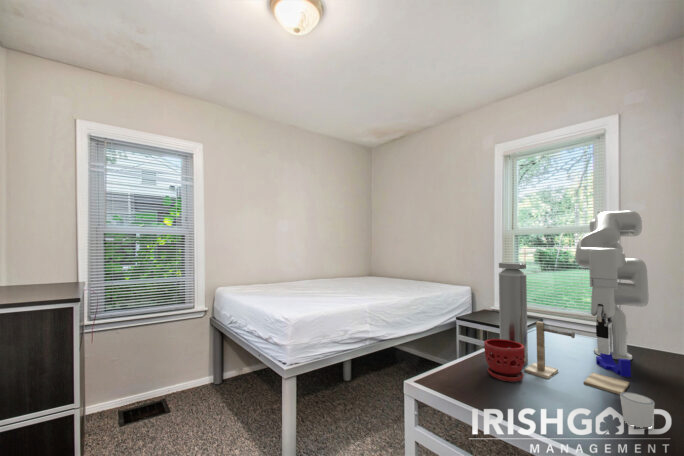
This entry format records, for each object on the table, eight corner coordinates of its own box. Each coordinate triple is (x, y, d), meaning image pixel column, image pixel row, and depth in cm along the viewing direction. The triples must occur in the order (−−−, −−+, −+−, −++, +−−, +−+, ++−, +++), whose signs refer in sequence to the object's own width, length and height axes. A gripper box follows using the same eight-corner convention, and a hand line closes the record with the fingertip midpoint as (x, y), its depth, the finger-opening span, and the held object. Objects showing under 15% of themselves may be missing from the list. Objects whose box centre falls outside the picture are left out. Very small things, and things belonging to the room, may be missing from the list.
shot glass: (613, 417, 87) (613, 392, 88) (636, 416, 88) (635, 391, 88) (639, 432, 81) (638, 404, 81) (663, 431, 81) (662, 403, 82)
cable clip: (596, 363, 127) (595, 348, 127) (608, 364, 126) (608, 349, 126) (616, 376, 115) (616, 359, 115) (630, 377, 114) (630, 360, 114)
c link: (602, 349, 111) (601, 320, 112) (613, 351, 109) (612, 322, 109) (597, 352, 107) (596, 322, 108) (609, 354, 105) (608, 324, 106)
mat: (592, 374, 116) (592, 372, 116) (629, 384, 108) (629, 382, 108) (583, 384, 108) (583, 381, 108) (622, 395, 100) (621, 392, 100)
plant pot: (529, 376, 114) (528, 342, 115) (519, 388, 105) (518, 351, 105) (491, 366, 123) (491, 335, 124) (479, 376, 114) (478, 343, 114)
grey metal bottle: (527, 368, 122) (525, 264, 123) (498, 362, 127) (497, 263, 129) (528, 359, 130) (526, 263, 132) (501, 354, 136) (499, 262, 137)
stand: (534, 365, 124) (533, 318, 125) (579, 377, 113) (578, 325, 114) (524, 371, 118) (523, 322, 119) (570, 385, 107) (569, 330, 108)
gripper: (596, 281, 118) (597, 329, 117) (583, 283, 107) (584, 337, 106) (622, 283, 112) (624, 334, 111) (611, 286, 101) (613, 343, 100)
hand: (604, 335), depth 108 cm, fingers closed on c link, 6 cm apart
